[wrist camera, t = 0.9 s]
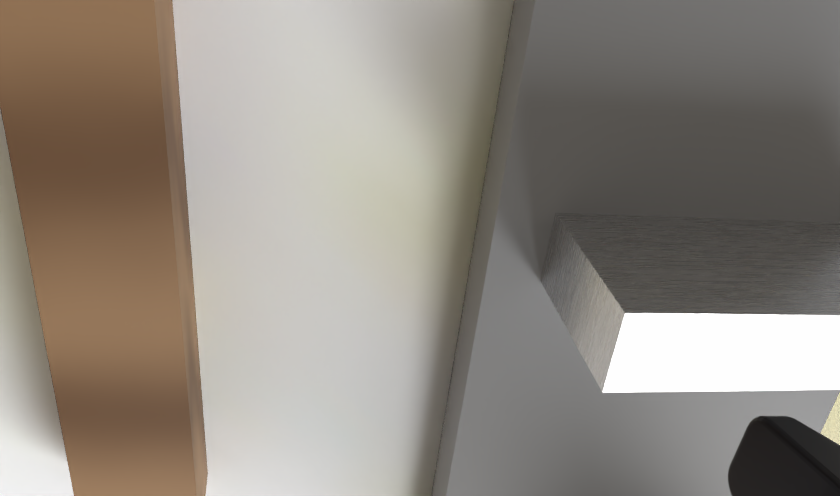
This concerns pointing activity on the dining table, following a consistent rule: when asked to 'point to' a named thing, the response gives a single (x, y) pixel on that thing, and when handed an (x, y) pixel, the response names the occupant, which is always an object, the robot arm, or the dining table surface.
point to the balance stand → (649, 248)
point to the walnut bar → (108, 236)
